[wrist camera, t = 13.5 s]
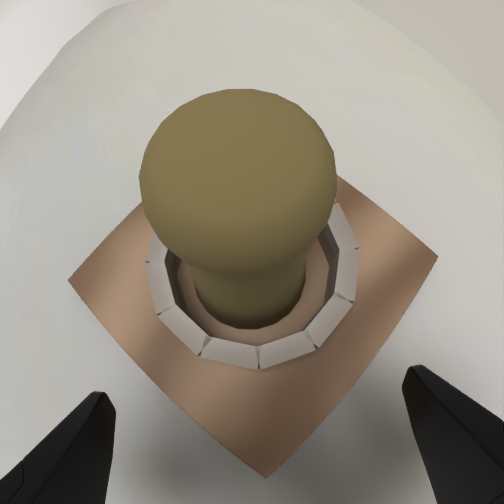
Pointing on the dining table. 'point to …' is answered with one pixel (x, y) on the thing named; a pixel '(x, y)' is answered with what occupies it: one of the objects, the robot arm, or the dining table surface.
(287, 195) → the cork
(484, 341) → the dining table surface
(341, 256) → the socket holder
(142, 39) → the dining table surface
